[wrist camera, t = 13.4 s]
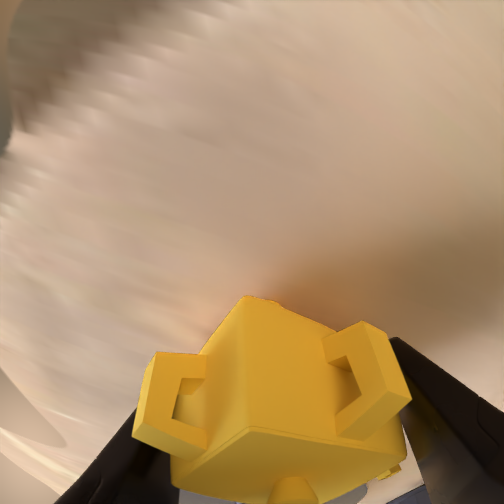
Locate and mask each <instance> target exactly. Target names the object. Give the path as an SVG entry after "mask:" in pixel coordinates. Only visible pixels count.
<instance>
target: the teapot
mask: <svg viewBox="0 0 504 504" xmlns="http://www.w3.org/2000/svg"><path fill="white" fill-rule="evenodd" d="M411 400H412V397H411V395H410V392H409V389H408V387H407V384H406V382H405V379H404V376H403V374H402V371H401V369H400V366H399V364H398V361H397V359H396V356H395V354H394V352H393V349H392V347H391V344H390V342H389V340H388V337H387V335H386V333H385V332H383V331H381V330H380V329H378V328H376V327H374V326H372V325H370V324H369V323H367V322H365V321H363V320H362V321H360V322H358V323H356V324H354V325H352V326H350V327H347V328H345V329H343V330H341V331H339V332H336V331H334V330H332V329H330V328H328V327H326V326H324V325H322V324H320V323H318V322H316V321H313V320H311V319H309V318H306V317H304V316H302V315H299V314H297V313H294V312H292V311H290V310H287V309H285V308H282V307H281V305H280V304H279V303H277V302H275V301H272V300H262V299H260V298H256V297H253V296H248V295H246V296H243V297H242V298H241V299H240V300H239V301H238V303H237V304H236V305H235V306H234V308H233V309H232V310H231V311H230V312H229V314H228V315H227V316H226V318H225V319H224V320H223V322H222V323H221V324H220V325H219V327H218V328H217V329H216V331H215V332H214V333H213V335H212V336H211V337H210V339H209V340H208V341H207V343H206V344H205V345H204V347H203V348H202V350H201V351H200V352H199V354H183V353H167V352H156V353H155V355H154V357H153V358H152V360H151V361H150V363H149V365H148V366H147V368H146V370H145V373H144V378H143V382H142V387H141V392H140V396H139V401H138V406H137V411H136V416H135V421H134V426H133V431H132V437H134V438H136V439H138V440H140V441H142V442H144V443H146V444H148V445H151V446H153V447H155V448H157V449H160V450H162V451H164V452H167V453H169V454H170V474H171V484H172V485H173V486H175V487H177V488H180V489H183V490H186V491H190V492H193V493H197V494H201V495H205V496H210V497H214V498H219V499H224V500H229V501H235V502H240V503H247V504H323V503H325V502H327V501H330V500H332V499H334V498H336V497H339V496H341V495H343V494H345V493H347V492H349V491H351V490H353V489H355V488H357V487H359V486H361V485H363V484H364V483H366V482H368V481H370V480H372V479H374V478H375V477H377V478H378V480H382V479H385V478H388V477H391V476H392V475H394V474H396V473H398V472H399V471H401V468H400V466H399V464H398V463H400V462H401V461H403V460H404V459H406V456H407V449H406V443H405V438H404V433H403V428H402V423H401V419H400V415H399V411H400V410H401V409H402V408H403V407H404V406H405V405H407V404H408V403H409V402H410V401H411ZM172 414H173V415H172ZM171 418H172V419H171Z"/></svg>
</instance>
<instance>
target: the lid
mask: <svg viewBox="0 0 504 504" xmlns="http://www.w3.org/2000/svg"><path fill="white" fill-rule="evenodd" d="M366 493H367V484H366V483H364V484H363V485H361V486H359V487H357V488H355V489H353V490H351V491H349V492H347V493H345V494H343V495H341V496H339V497H336V498H334V499H332V500H330V501H327V502H325V503H323V504H357V503H358V502H359V501H360V500H361V499H362V498H363V497H364V496H365V495H366ZM179 504H247V503H240V502H235V501H229V500H224V499H219V498H214V497H210V496H205V495H201V494H197V493H193V492H190V491H186V490H183V489H180V494H179Z"/></svg>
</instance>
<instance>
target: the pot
mask: <svg viewBox="0 0 504 504" xmlns="http://www.w3.org/2000/svg"><path fill="white" fill-rule="evenodd" d="M387 504H432V503H431V500H430V497H429V494H428V491H427V489H426V486H425V485H423V486H421V487H419V488H417V489H415V490H413V491H410V492H408V493H406V494H404V495H402V496H400V497H399V498H397V499H395V500H393V501H391V502H389V503H387Z"/></svg>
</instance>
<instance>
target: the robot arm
mask: <svg viewBox="0 0 504 504" xmlns="http://www.w3.org/2000/svg"><path fill="white" fill-rule="evenodd" d="M388 340H389V342H390V344H391V347H392V349H393V352H394V354H395V356H396V359H397V361H398V364H399V366H400V369H401V371H402V374H403V376H404V379H405V382H406V384H407V387H408V389H409V392H410V395H411V397H412V400H411V401H410V402H409V403H408V404H407V405H405V406H404V407H403V408H402V409H401V410H400V411H399V415H400V419H401V423H402V425H403V428H404V430H405V433H406V435H407V438H408V440H409V443H410V445H411V448H412V451H413V453H414V456H415V458H416V461H417V464H418V466H419V469H420V472H421V475H422V477H423V480H424V483H425V486H426V489H427V491H428V494H429V497H430V500H431V503H432V504H504V413H503V412H502V411H500V410H499V409H497V408H496V407H494V406H493V405H491V404H490V403H489V402H487V401H486V400H484V399H483V398H482V397H479V396H478V395H477V394H476V393H475V392H473V391H472V390H471V389H469V388H468V387H467V386H465V385H464V384H462V383H461V382H460V381H458V380H457V379H456V378H454V377H453V376H451V375H450V374H449V373H447V372H446V371H444V370H443V369H442V368H440V367H439V366H438V365H436V364H435V363H433V362H432V361H431V360H429V359H428V358H426V357H425V356H424V355H422V354H421V353H419V352H418V351H417V350H415V349H414V348H412V347H411V346H410V345H408V344H407V343H405V342H404V341H403V340H401V339H400V338H398V337H393V338H390V339H388ZM136 411H137V408H136V409H135V410H134V412H133V413H132V414H131V415H130V417H129V418H128V419H127V420H126V422H125V423H124V424H123V425H122V426H121V428H120V429H119V430H118V431H117V433H116V434H115V435H114V436H113V438H112V439H111V440H110V441H109V443H108V444H107V445H106V446H105V448H104V449H103V450H102V451H101V453H100V454H99V455H98V456H97V459H95V460H94V461H93V462H92V463H91V465H90V466H89V467H88V468H87V469H86V471H85V472H84V473H83V474H82V475H81V476H80V478H79V479H78V480H77V481H76V482H75V483H74V484H73V485H72V486H71V487H70V488H69V489H68V490H67V491H66V492H65V493H64V494H63V495H62V496H61V497H60V498H59V499H58V500H57V501H56V502H55V503H54V504H179V494H180V488H177V487H175V486H173V485H172V484H171V474H170V454H169V453H167V452H164V451H162V450H160V449H157V448H155V447H153V446H151V445H148V444H146V443H144V442H142V441H140V440H138V439H136V438H134V437H132V431H133V426H134V421H135V416H136ZM172 415H173V414H172ZM171 419H172V418H171Z"/></svg>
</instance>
